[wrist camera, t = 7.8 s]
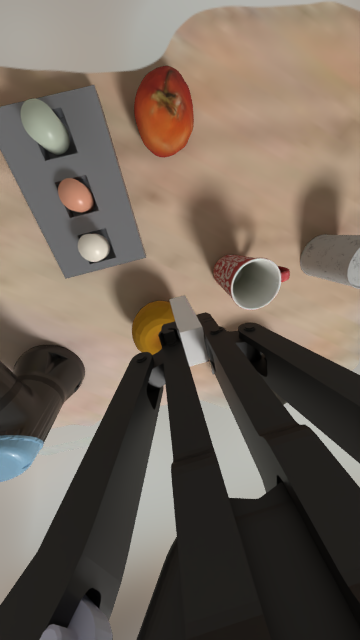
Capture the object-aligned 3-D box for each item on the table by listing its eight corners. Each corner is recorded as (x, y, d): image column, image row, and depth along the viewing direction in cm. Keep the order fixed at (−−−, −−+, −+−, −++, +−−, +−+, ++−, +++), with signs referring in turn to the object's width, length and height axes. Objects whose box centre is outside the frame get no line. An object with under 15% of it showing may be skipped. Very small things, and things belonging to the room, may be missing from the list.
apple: (160, 281, 43) (163, 297, 33) (196, 318, 48) (208, 341, 38) (122, 319, 46) (114, 344, 35) (160, 349, 51) (163, 379, 40)
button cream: (91, 261, 36) (84, 264, 33) (80, 237, 34) (72, 237, 31) (113, 255, 36) (109, 258, 33) (104, 231, 35) (99, 230, 31)
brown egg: (75, 215, 34) (66, 213, 31) (63, 187, 33) (52, 181, 29) (98, 210, 35) (92, 207, 31) (88, 181, 33) (80, 174, 29)
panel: (72, 275, 40) (65, 278, 37) (-1, 124, 29) (-19, 111, 26) (146, 255, 40) (145, 257, 37) (100, 100, 30) (94, 84, 27)
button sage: (47, 157, 29) (32, 147, 26) (30, 119, 27) (13, 102, 24) (74, 150, 30) (64, 139, 26) (60, 112, 28) (47, 94, 24)
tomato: (161, 175, 35) (164, 160, 28) (123, 122, 31) (116, 89, 24) (200, 135, 33) (214, 108, 26) (165, 73, 30) (170, 23, 22)
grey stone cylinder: (330, 225, 43) (392, 222, 32) (342, 258, 47) (401, 266, 36) (294, 253, 45) (341, 260, 34) (308, 283, 49) (354, 298, 38)
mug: (209, 292, 46) (231, 314, 34) (207, 253, 42) (231, 261, 30) (259, 284, 47) (297, 303, 35) (261, 245, 43) (305, 251, 31)
